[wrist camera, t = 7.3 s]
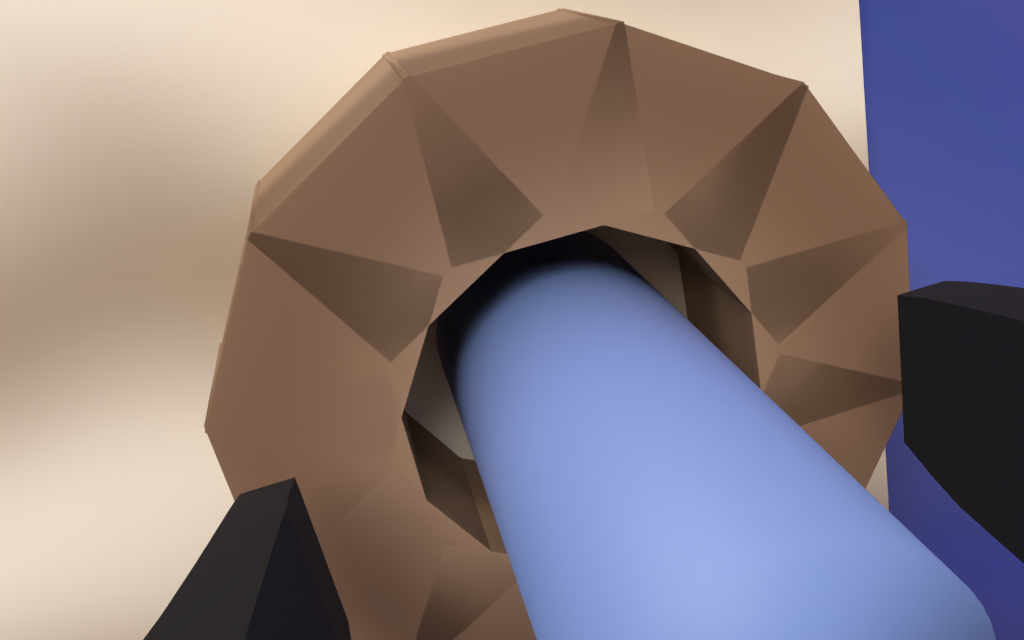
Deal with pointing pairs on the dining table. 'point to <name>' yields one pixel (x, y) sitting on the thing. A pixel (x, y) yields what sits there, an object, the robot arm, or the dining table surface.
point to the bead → (521, 223)
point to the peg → (666, 474)
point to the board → (220, 250)
